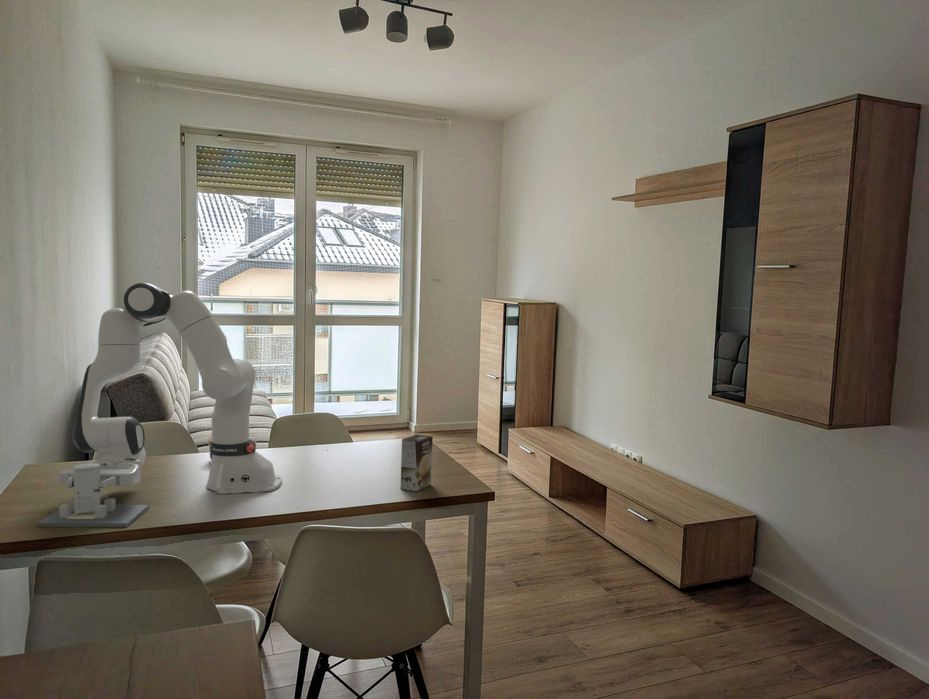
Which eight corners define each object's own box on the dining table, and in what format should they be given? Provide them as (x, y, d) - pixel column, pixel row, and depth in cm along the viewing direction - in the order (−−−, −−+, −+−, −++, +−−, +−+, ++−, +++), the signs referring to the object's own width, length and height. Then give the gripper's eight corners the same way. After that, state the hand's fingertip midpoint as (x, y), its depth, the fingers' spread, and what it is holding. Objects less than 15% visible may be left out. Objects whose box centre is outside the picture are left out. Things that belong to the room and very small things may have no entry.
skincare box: (74, 514, 171) (72, 469, 170) (73, 508, 175) (72, 464, 173) (101, 510, 174) (100, 465, 173) (100, 505, 178) (98, 461, 177)
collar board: (149, 508, 183) (148, 494, 182) (126, 527, 169) (126, 512, 168) (67, 507, 181) (66, 493, 181) (37, 526, 167) (37, 511, 167)
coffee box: (417, 492, 204) (418, 441, 202) (399, 489, 207) (401, 439, 205) (431, 484, 212) (433, 436, 210) (414, 481, 215) (415, 433, 213)
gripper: (72, 458, 186) (44, 472, 172) (146, 459, 187) (124, 473, 173) (72, 480, 186) (44, 496, 173) (146, 481, 188) (124, 497, 174)
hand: (85, 485), depth 173 cm, fingers closed on skincare box, 7 cm apart
